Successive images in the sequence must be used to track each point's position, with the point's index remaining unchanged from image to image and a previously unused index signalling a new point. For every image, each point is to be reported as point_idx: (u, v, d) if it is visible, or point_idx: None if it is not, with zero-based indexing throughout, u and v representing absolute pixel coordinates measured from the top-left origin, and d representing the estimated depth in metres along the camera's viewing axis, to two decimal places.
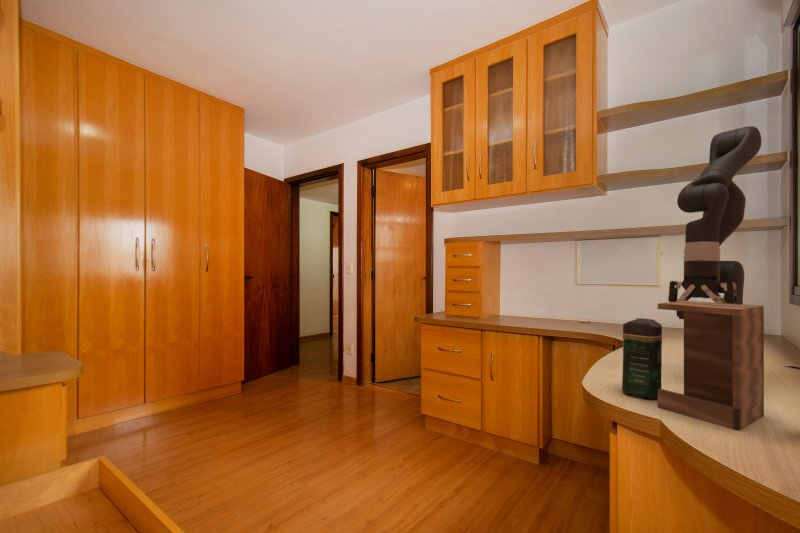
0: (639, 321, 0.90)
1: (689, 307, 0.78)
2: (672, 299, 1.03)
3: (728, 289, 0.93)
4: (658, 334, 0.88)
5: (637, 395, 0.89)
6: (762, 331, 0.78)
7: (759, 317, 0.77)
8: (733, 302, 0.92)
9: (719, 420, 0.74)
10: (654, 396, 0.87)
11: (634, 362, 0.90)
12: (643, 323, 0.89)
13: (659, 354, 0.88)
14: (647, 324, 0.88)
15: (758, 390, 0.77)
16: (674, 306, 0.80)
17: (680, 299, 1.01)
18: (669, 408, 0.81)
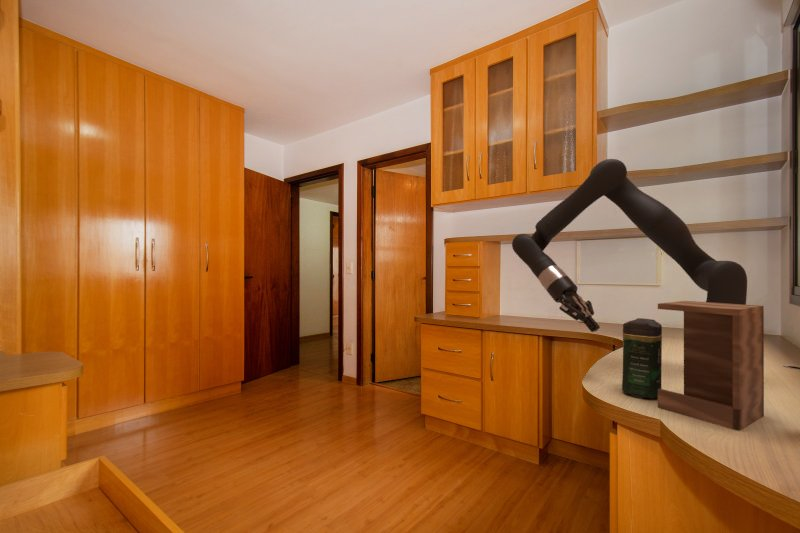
0: (639, 321, 0.90)
1: (689, 307, 0.78)
2: None
3: None
4: (658, 334, 0.88)
5: (637, 395, 0.89)
6: (762, 331, 0.78)
7: (759, 317, 0.77)
8: (574, 318, 1.04)
9: (719, 420, 0.74)
10: (654, 396, 0.87)
11: (634, 362, 0.90)
12: (643, 323, 0.89)
13: (659, 354, 0.88)
14: (647, 324, 0.88)
15: (758, 390, 0.77)
16: (674, 306, 0.80)
17: None
18: (669, 408, 0.81)
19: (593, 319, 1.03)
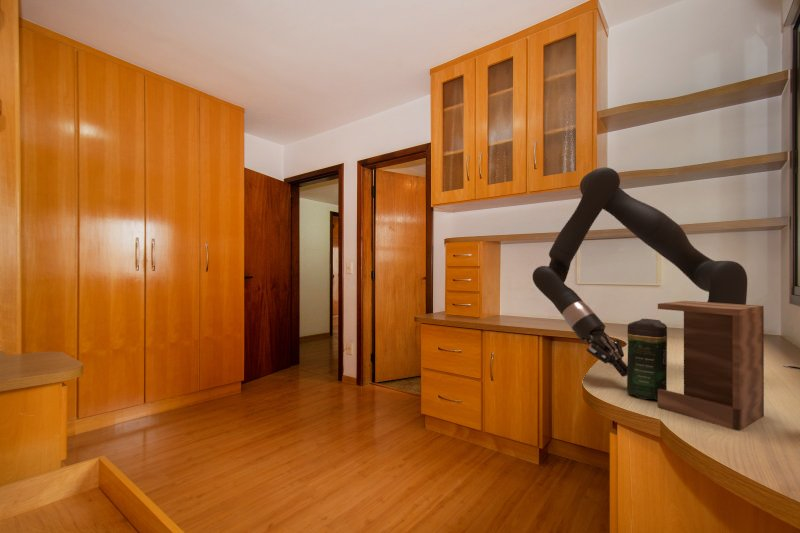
0: (644, 321, 0.89)
1: (689, 307, 0.78)
2: None
3: None
4: (663, 335, 0.87)
5: (642, 397, 0.88)
6: (762, 331, 0.78)
7: (759, 317, 0.77)
8: (603, 361, 0.97)
9: (719, 420, 0.74)
10: None
11: (639, 363, 0.89)
12: (648, 323, 0.88)
13: (664, 355, 0.87)
14: (652, 324, 0.87)
15: (758, 390, 0.77)
16: (674, 306, 0.80)
17: None
18: (669, 408, 0.81)
19: None
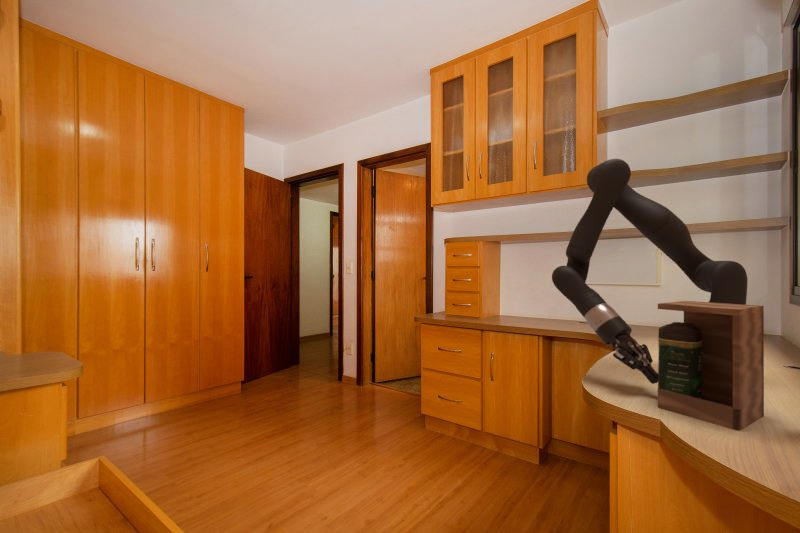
0: (677, 325, 0.83)
1: (689, 307, 0.78)
2: None
3: None
4: (699, 339, 0.81)
5: None
6: (762, 331, 0.78)
7: (759, 317, 0.77)
8: (631, 367, 0.91)
9: (719, 420, 0.74)
10: None
11: (672, 370, 0.83)
12: (682, 327, 0.82)
13: (700, 361, 0.82)
14: (687, 329, 0.81)
15: (758, 390, 0.77)
16: (674, 306, 0.80)
17: None
18: (669, 408, 0.81)
19: (653, 369, 0.90)
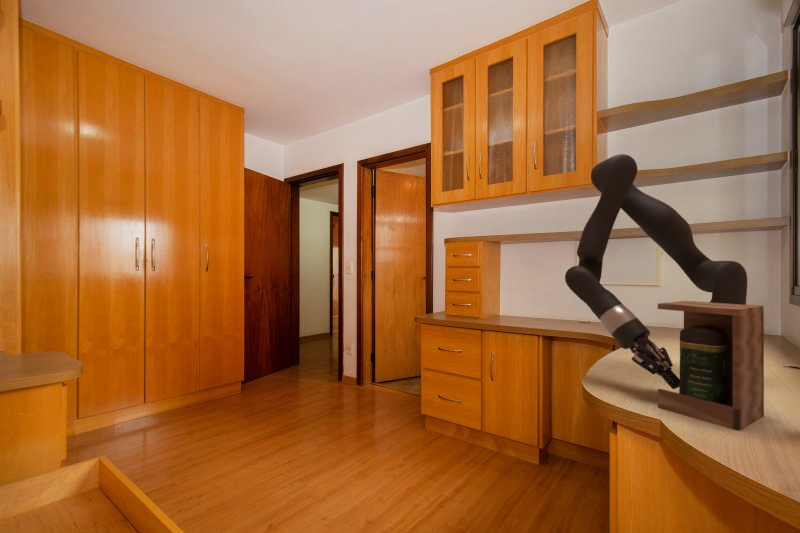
0: (700, 328, 0.79)
1: (689, 307, 0.78)
2: None
3: None
4: (723, 343, 0.78)
5: None
6: (762, 331, 0.78)
7: (759, 317, 0.77)
8: (651, 372, 0.87)
9: (719, 420, 0.74)
10: None
11: (694, 375, 0.79)
12: (705, 330, 0.78)
13: (724, 366, 0.78)
14: (710, 332, 0.78)
15: (758, 390, 0.77)
16: (674, 306, 0.80)
17: None
18: (669, 408, 0.81)
19: None
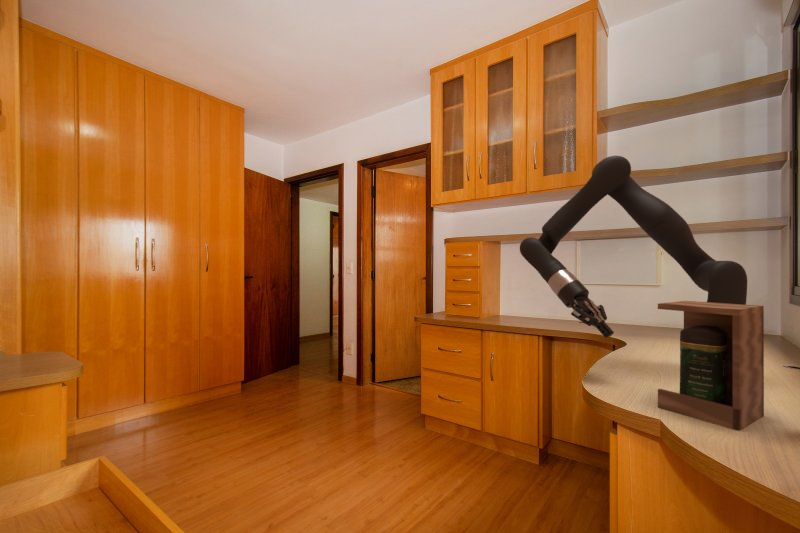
0: (700, 328, 0.79)
1: (689, 307, 0.78)
2: None
3: None
4: (723, 343, 0.78)
5: None
6: (762, 331, 0.78)
7: (759, 317, 0.77)
8: (587, 324, 1.01)
9: (719, 420, 0.74)
10: None
11: (694, 375, 0.79)
12: (705, 330, 0.78)
13: (724, 366, 0.78)
14: (710, 332, 0.78)
15: (758, 390, 0.77)
16: (674, 306, 0.80)
17: None
18: (669, 408, 0.81)
19: (606, 324, 1.00)
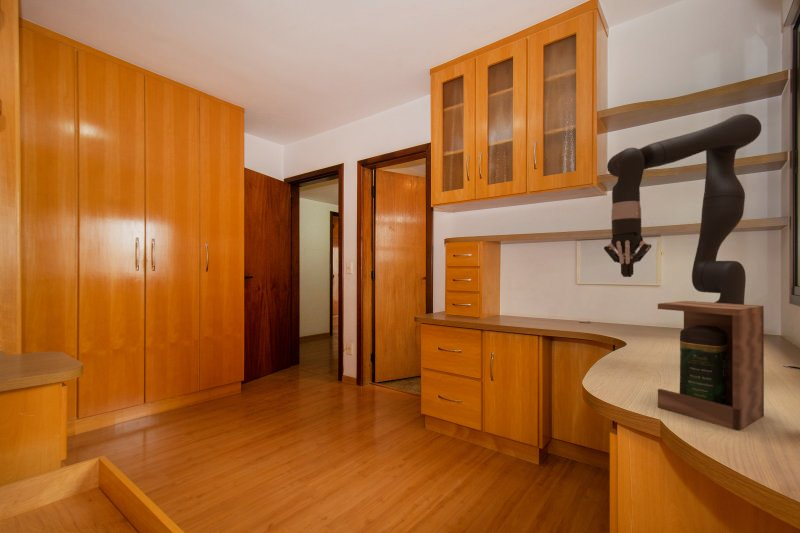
0: (700, 328, 0.79)
1: (689, 307, 0.78)
2: (617, 259, 1.11)
3: (641, 248, 1.05)
4: (723, 343, 0.78)
5: None
6: (762, 331, 0.78)
7: (759, 317, 0.77)
8: (636, 259, 1.06)
9: (719, 420, 0.74)
10: None
11: (694, 375, 0.79)
12: (705, 330, 0.78)
13: (724, 366, 0.78)
14: (710, 332, 0.78)
15: (758, 390, 0.77)
16: (674, 306, 0.80)
17: (623, 258, 1.09)
18: (669, 408, 0.81)
19: None
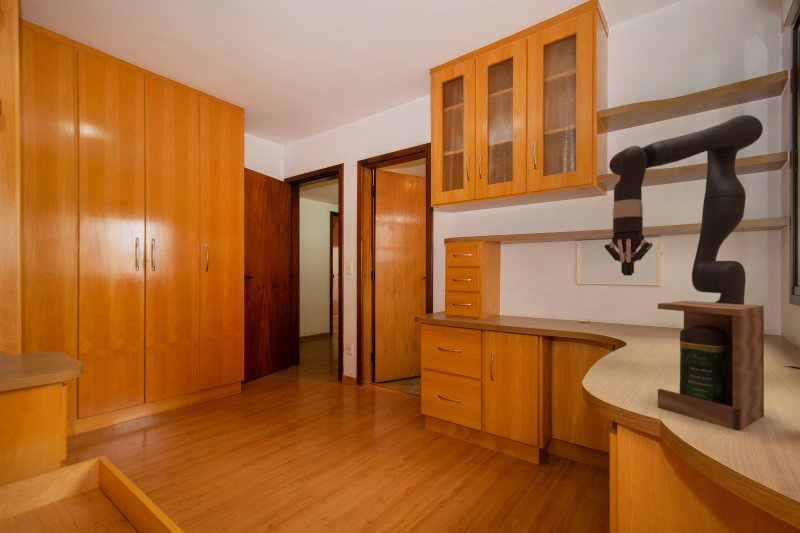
0: (700, 328, 0.79)
1: (689, 307, 0.78)
2: (617, 257, 1.11)
3: (642, 247, 1.05)
4: (723, 343, 0.78)
5: None
6: (762, 331, 0.78)
7: (759, 317, 0.77)
8: (637, 258, 1.06)
9: (719, 420, 0.74)
10: None
11: (694, 375, 0.79)
12: (705, 330, 0.78)
13: (724, 366, 0.78)
14: (710, 332, 0.78)
15: (758, 390, 0.77)
16: (674, 306, 0.80)
17: (624, 257, 1.09)
18: (669, 408, 0.81)
19: None
